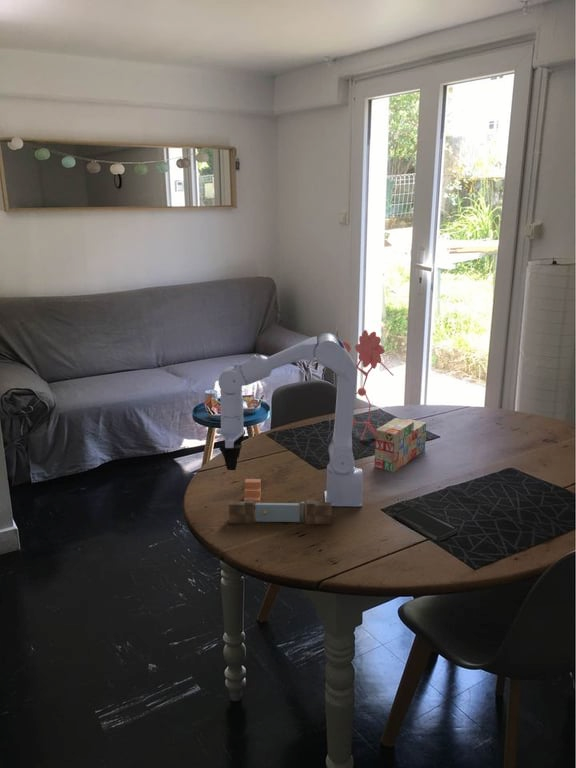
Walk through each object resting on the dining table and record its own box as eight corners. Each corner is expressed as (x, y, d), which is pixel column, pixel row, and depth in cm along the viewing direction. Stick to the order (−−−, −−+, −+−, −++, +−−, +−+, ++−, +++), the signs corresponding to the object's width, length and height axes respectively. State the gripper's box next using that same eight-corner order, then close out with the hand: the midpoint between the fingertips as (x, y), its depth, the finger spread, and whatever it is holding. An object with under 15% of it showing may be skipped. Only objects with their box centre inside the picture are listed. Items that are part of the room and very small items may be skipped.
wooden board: (330, 520, 156) (331, 500, 155) (331, 524, 155) (331, 504, 153) (230, 519, 157) (229, 499, 155) (229, 523, 155) (228, 502, 153)
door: (304, 519, 156) (305, 501, 155) (304, 523, 154) (305, 505, 153) (255, 519, 156) (255, 500, 155) (255, 523, 155) (255, 504, 153)
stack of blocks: (407, 445, 203) (409, 409, 200) (425, 450, 200) (427, 413, 196) (373, 467, 187) (375, 428, 184) (392, 473, 184) (394, 433, 180)
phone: (413, 504, 163) (460, 528, 151) (412, 508, 163) (459, 532, 152) (391, 513, 158) (438, 538, 147) (391, 517, 159) (437, 543, 147)
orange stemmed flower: (376, 449, 200) (383, 340, 191) (325, 425, 220) (329, 326, 211) (411, 439, 209) (419, 335, 199) (358, 418, 229) (363, 322, 219)
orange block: (260, 496, 169) (260, 479, 168) (259, 506, 164) (259, 489, 162) (245, 496, 169) (245, 478, 168) (243, 506, 164) (243, 489, 162)
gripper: (220, 404, 168) (221, 452, 172) (212, 423, 154) (213, 475, 158) (246, 405, 168) (247, 452, 171) (241, 424, 154) (242, 475, 158)
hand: (233, 463), depth 165 cm, fingers open, 7 cm apart
